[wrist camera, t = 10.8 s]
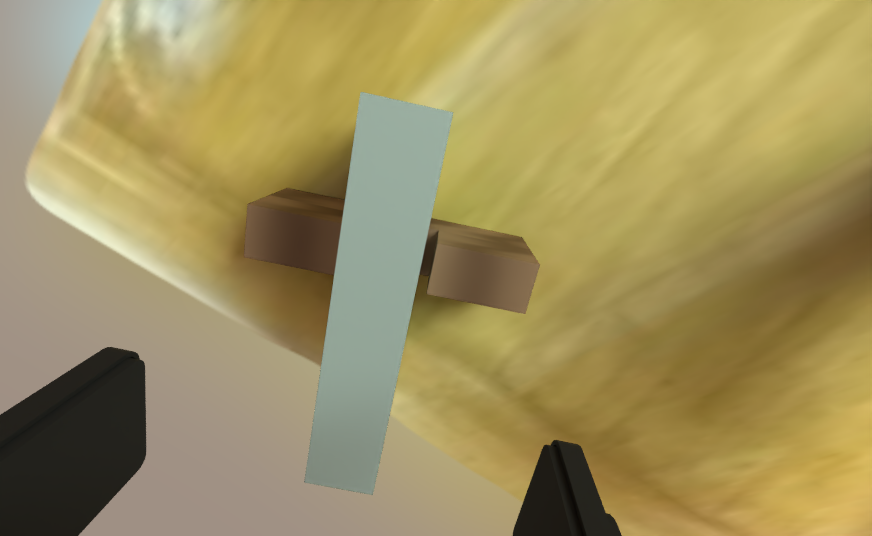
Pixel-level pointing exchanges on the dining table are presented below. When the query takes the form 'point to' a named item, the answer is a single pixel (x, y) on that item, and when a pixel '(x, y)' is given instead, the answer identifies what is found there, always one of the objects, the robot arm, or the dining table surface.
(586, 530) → the robot arm
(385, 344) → the cross plate
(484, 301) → the brown long block
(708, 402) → the dining table surface
